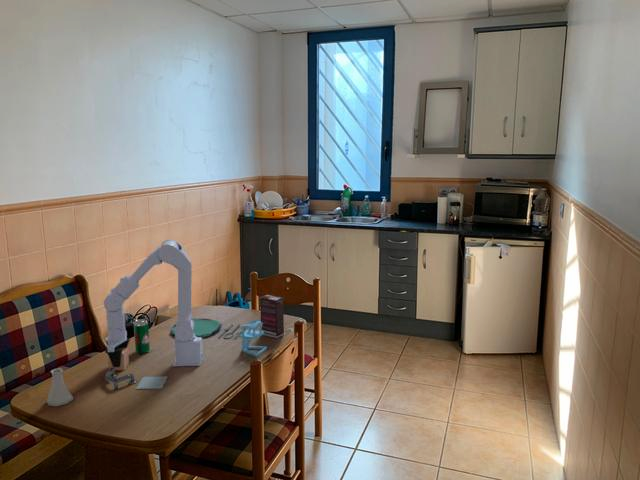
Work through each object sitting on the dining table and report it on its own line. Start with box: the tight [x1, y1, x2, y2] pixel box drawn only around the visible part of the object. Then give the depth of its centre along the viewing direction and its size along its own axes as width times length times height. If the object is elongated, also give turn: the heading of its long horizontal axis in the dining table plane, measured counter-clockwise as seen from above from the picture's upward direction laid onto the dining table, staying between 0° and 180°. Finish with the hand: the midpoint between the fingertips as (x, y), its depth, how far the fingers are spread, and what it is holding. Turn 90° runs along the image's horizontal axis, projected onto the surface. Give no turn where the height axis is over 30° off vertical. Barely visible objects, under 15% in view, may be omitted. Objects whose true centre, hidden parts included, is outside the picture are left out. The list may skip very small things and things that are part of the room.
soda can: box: [133, 318, 151, 355], centre depth 190 cm, size 5×5×12 cm
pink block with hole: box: [108, 347, 130, 371], centre depth 178 cm, size 5×5×6 cm
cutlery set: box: [170, 317, 247, 340], centre depth 212 cm, size 20×30×2 cm, turn 78°
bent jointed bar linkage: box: [104, 367, 138, 390], centre depth 168 cm, size 10×11×3 cm
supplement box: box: [259, 294, 285, 339], centre depth 207 cm, size 9×5×16 cm, turn 58°
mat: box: [135, 375, 168, 390], centre depth 167 cm, size 8×8×1 cm
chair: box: [239, 319, 268, 358], centre depth 191 cm, size 8×8×12 cm
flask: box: [46, 367, 74, 408], centre depth 154 cm, size 7×7×10 cm
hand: (119, 363), depth 178 cm, fingers closed on pink block with hole, 5 cm apart
